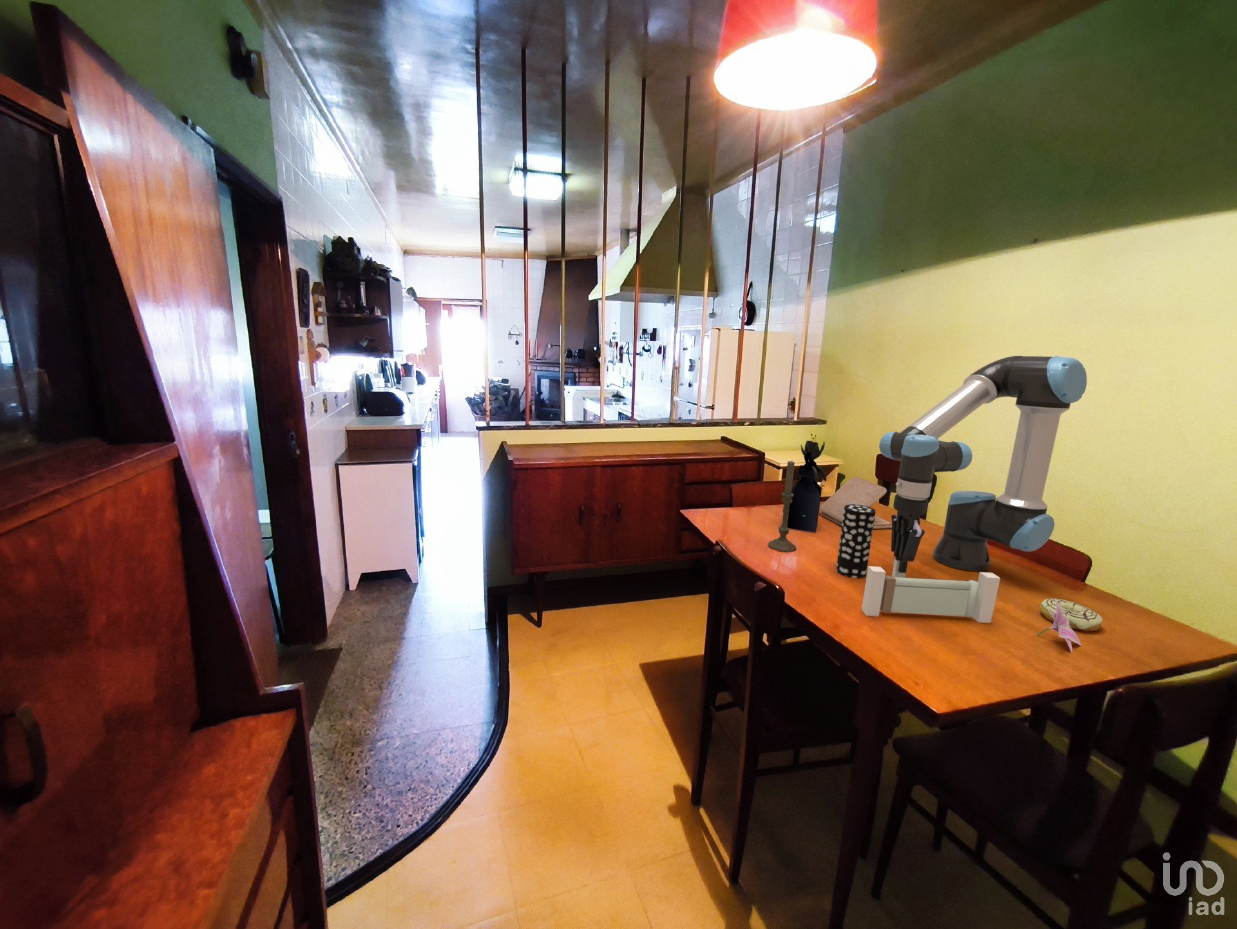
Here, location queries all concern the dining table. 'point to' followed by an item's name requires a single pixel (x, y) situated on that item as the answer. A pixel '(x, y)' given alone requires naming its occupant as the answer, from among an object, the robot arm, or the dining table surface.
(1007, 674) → the dining table surface
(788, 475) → the candlestick holder
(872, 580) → the gate posts
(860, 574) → the spotted tube
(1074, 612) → the decorated donut
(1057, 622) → the lily
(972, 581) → the gate
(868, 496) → the case
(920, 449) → the robot arm
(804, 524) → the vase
